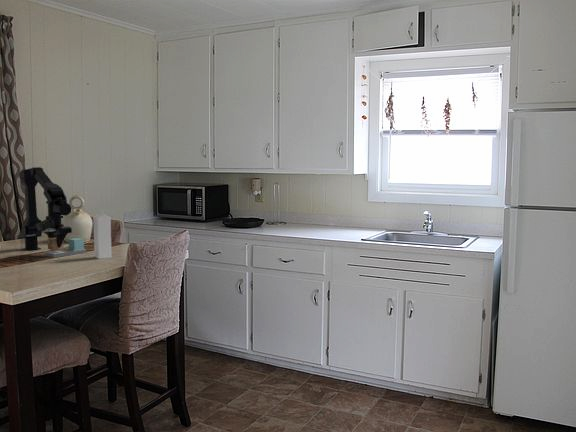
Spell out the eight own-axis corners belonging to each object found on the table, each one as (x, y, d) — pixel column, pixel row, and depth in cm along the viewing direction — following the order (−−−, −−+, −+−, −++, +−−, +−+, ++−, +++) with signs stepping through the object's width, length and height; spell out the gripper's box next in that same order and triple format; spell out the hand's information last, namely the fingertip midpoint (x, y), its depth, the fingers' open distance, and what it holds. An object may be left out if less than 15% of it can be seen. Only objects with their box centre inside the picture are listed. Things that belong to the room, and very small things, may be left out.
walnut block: (48, 249, 268) (47, 238, 267) (57, 247, 271) (57, 237, 271) (53, 250, 265) (53, 239, 264) (63, 248, 268) (63, 238, 268)
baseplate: (45, 255, 268) (45, 252, 268) (78, 250, 281) (78, 247, 281) (54, 257, 264) (53, 254, 264) (86, 252, 277) (86, 249, 277)
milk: (98, 259, 261) (97, 211, 259) (94, 257, 266) (92, 210, 263) (111, 257, 265) (110, 210, 262) (107, 255, 270) (105, 209, 267)
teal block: (68, 249, 276) (68, 239, 275) (77, 248, 280) (77, 238, 279) (74, 250, 273) (74, 240, 272) (83, 249, 277) (83, 239, 276)
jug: (87, 243, 303) (85, 196, 300) (57, 243, 303) (56, 196, 300) (97, 239, 318) (95, 194, 315) (69, 238, 318) (67, 194, 315)
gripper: (27, 213, 265) (28, 246, 267) (49, 216, 254) (50, 251, 256) (49, 211, 274) (51, 243, 276) (72, 214, 263) (73, 248, 265)
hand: (55, 246), depth 268 cm, fingers closed on walnut block, 5 cm apart
